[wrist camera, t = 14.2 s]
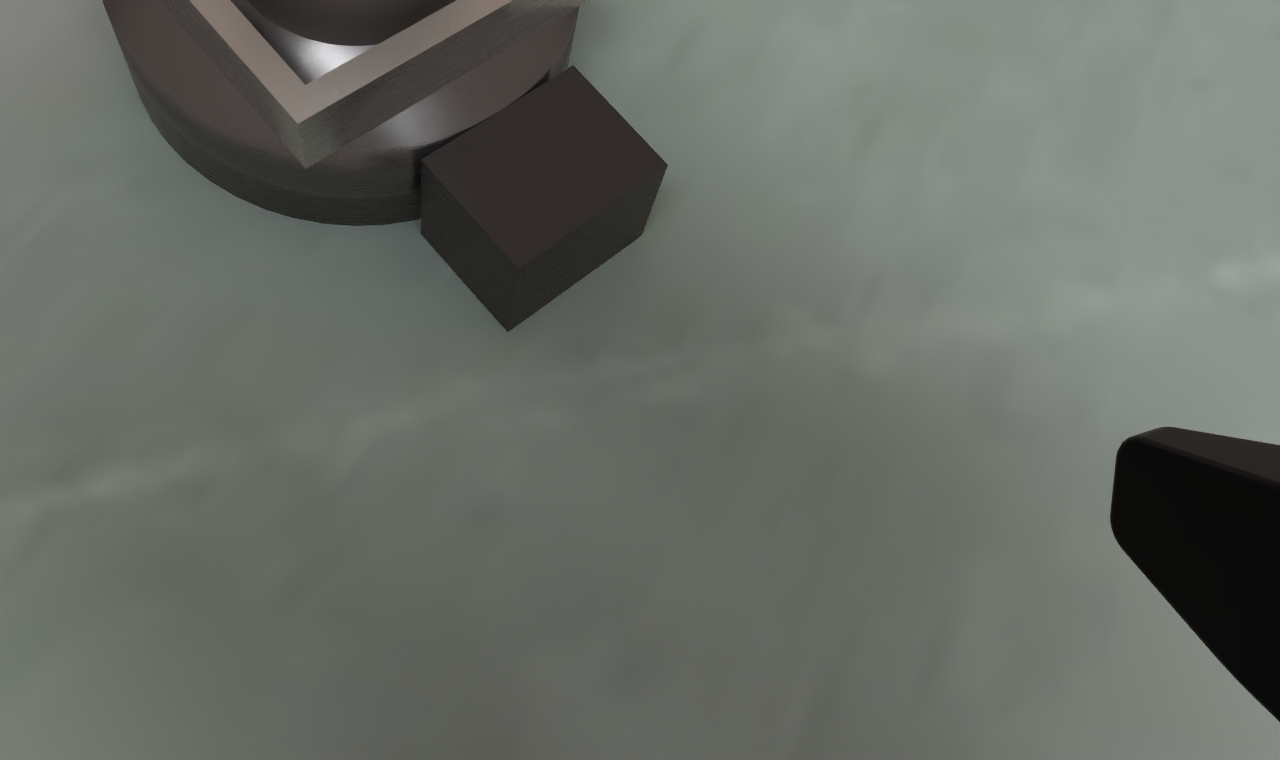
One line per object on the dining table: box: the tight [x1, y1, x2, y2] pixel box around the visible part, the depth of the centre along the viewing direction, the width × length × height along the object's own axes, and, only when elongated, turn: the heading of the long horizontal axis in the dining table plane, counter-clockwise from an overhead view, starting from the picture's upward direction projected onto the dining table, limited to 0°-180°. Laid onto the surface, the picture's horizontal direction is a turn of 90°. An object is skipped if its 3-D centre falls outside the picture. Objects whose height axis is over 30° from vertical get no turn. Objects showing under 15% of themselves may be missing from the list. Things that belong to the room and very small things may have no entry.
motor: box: [103, 0, 668, 332], centre depth 24 cm, size 13×10×4 cm
